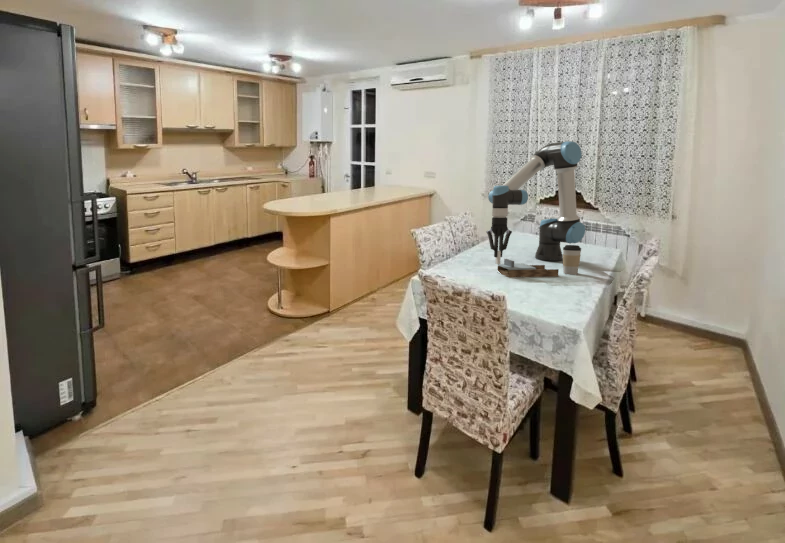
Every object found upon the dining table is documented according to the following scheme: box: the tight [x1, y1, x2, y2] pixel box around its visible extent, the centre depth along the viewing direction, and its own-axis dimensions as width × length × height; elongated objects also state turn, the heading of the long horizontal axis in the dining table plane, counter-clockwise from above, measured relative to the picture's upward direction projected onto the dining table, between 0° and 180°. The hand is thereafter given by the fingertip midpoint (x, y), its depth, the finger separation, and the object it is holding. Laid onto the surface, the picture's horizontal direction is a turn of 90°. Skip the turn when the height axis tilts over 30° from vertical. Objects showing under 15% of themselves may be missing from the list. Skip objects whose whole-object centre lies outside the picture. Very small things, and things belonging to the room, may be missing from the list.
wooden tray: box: [497, 264, 559, 278], centre depth 246 cm, size 26×16×4 cm, turn 99°
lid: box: [497, 258, 536, 270], centre depth 244 cm, size 14×16×4 cm
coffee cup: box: [562, 244, 582, 276], centre depth 248 cm, size 9×9×15 cm
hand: (497, 263), depth 243 cm, fingers closed
